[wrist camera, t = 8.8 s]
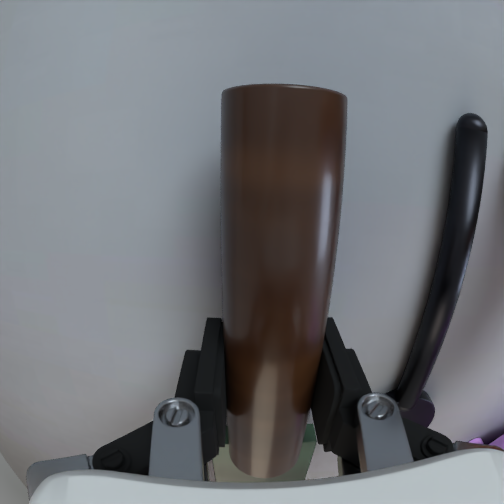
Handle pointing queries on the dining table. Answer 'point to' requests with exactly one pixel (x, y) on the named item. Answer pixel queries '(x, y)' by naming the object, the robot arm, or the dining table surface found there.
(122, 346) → the dining table surface
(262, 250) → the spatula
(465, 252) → the spoon
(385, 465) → the robot arm
